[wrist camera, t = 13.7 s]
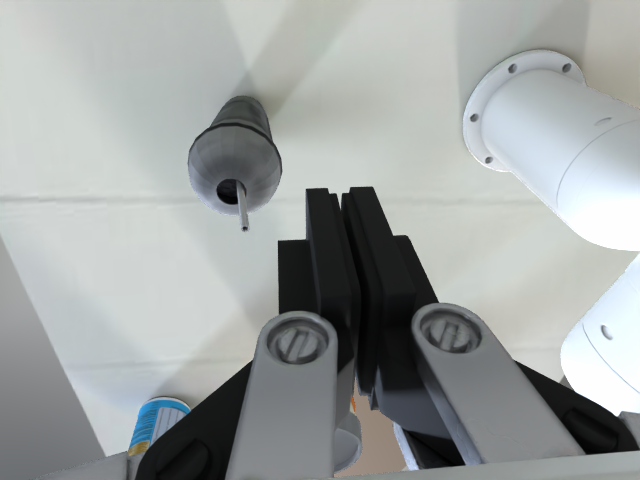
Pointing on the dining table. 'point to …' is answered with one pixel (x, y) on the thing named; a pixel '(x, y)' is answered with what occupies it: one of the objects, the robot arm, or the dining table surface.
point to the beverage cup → (236, 160)
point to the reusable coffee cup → (347, 441)
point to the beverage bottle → (155, 421)
